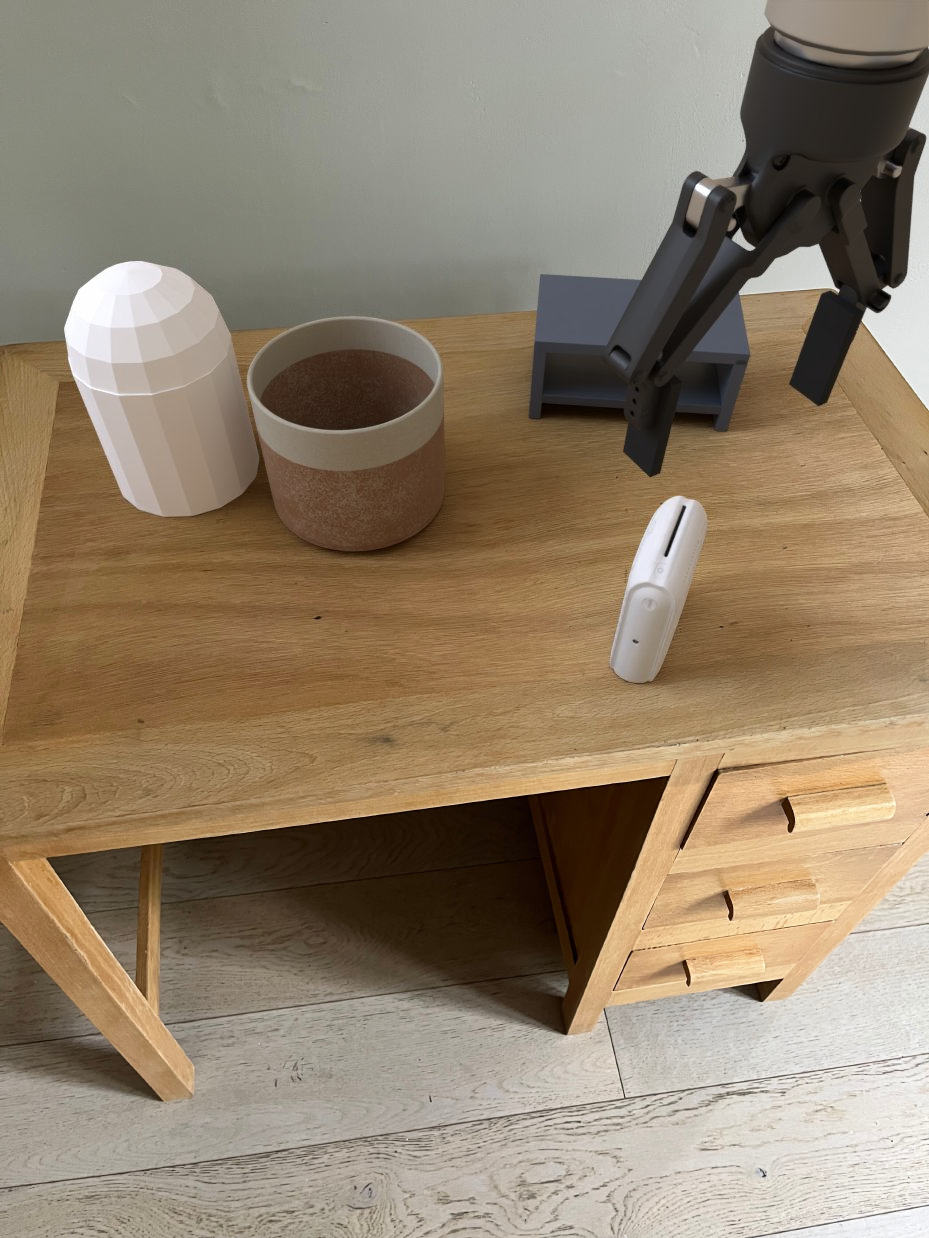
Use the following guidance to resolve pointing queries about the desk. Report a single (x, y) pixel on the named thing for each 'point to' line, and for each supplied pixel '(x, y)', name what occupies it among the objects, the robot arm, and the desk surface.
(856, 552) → the desk surface
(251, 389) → the planter
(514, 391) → the desk surface
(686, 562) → the photo printer
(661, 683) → the desk surface
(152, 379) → the container
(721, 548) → the desk surface
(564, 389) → the shelf
